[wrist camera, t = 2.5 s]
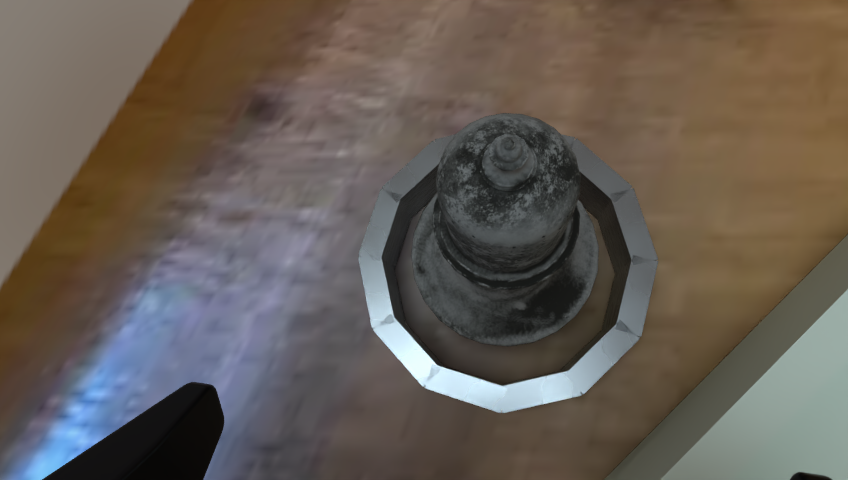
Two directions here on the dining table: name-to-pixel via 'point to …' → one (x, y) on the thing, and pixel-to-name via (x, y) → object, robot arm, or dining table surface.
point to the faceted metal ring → (619, 333)
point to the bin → (766, 397)
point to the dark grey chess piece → (506, 233)
